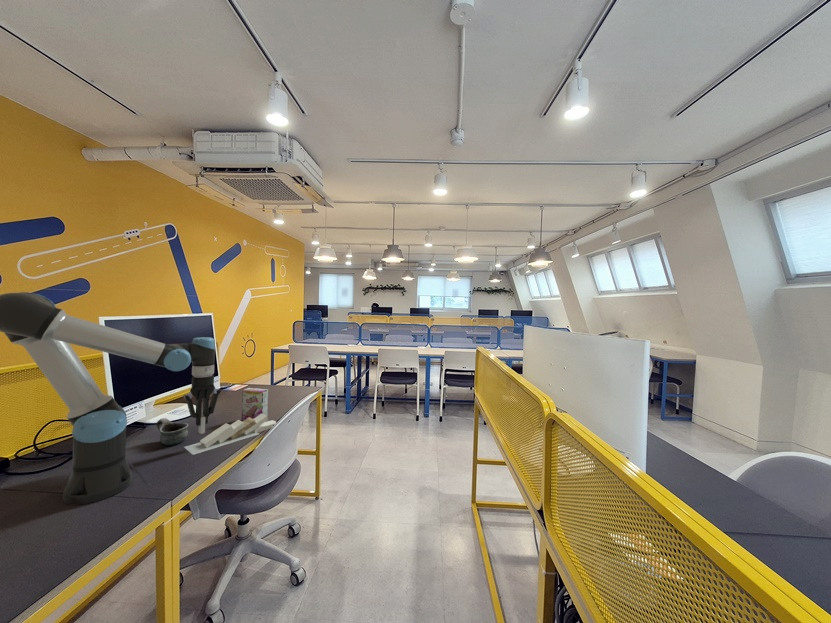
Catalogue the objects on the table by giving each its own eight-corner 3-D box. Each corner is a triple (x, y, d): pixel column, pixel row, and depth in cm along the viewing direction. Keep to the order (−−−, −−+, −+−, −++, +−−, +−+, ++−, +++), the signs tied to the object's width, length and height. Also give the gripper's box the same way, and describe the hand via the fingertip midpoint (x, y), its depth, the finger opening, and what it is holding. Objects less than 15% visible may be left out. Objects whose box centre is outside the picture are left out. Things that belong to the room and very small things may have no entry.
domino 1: (204, 444, 125) (231, 425, 133) (199, 440, 128) (226, 423, 136) (206, 447, 125) (233, 429, 134) (201, 444, 128) (228, 426, 136)
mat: (192, 455, 119) (192, 454, 119) (183, 448, 125) (183, 447, 125) (259, 434, 140) (259, 433, 140) (249, 428, 146) (249, 428, 146)
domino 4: (255, 428, 141) (278, 422, 150) (250, 425, 144) (272, 420, 153) (255, 432, 141) (277, 426, 150) (249, 429, 144) (272, 424, 153)
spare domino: (230, 436, 133) (254, 419, 141) (225, 433, 136) (249, 417, 144) (232, 440, 133) (256, 423, 141) (227, 436, 136) (250, 420, 144)
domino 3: (244, 431, 137) (266, 416, 145) (239, 428, 140) (261, 413, 148) (246, 435, 138) (268, 419, 146) (240, 432, 141) (263, 416, 149)
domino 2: (218, 439, 129) (243, 422, 137) (213, 436, 132) (238, 419, 140) (220, 443, 130) (245, 425, 138) (215, 440, 133) (240, 423, 141)
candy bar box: (240, 422, 153) (241, 390, 153) (247, 418, 158) (248, 387, 158) (262, 424, 152) (263, 391, 152) (267, 420, 157) (268, 388, 157)
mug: (176, 449, 124) (176, 424, 124) (145, 447, 124) (145, 423, 124) (193, 438, 134) (194, 416, 134) (164, 437, 134) (165, 414, 134)
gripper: (187, 379, 118) (185, 440, 118) (224, 374, 129) (222, 430, 129) (180, 376, 122) (179, 434, 123) (217, 371, 133) (215, 425, 133)
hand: (201, 432), depth 126 cm, fingers closed
